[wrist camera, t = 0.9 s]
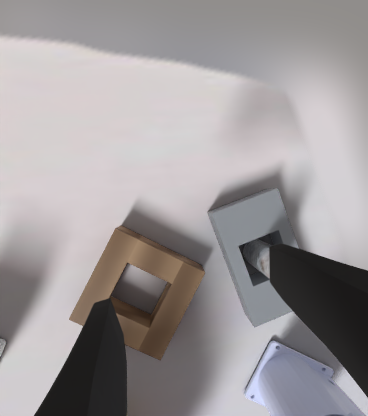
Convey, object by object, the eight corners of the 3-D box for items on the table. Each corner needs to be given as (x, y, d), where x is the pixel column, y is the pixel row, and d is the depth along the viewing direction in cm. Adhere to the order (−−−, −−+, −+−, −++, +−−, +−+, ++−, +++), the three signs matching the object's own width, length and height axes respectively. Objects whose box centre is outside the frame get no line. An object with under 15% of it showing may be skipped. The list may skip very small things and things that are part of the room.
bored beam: (302, 290, 30) (317, 300, 27) (245, 314, 29) (254, 327, 26) (266, 189, 29) (277, 188, 26) (207, 211, 28) (212, 213, 25)
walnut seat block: (201, 264, 29) (205, 272, 26) (161, 343, 29) (160, 360, 26) (120, 225, 28) (115, 228, 25) (79, 306, 28) (68, 319, 25)
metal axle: (272, 246, 29) (311, 264, 21) (260, 268, 29) (296, 294, 21) (250, 235, 29) (282, 248, 21) (238, 257, 29) (266, 280, 21)
